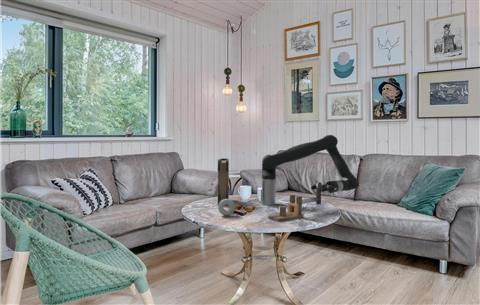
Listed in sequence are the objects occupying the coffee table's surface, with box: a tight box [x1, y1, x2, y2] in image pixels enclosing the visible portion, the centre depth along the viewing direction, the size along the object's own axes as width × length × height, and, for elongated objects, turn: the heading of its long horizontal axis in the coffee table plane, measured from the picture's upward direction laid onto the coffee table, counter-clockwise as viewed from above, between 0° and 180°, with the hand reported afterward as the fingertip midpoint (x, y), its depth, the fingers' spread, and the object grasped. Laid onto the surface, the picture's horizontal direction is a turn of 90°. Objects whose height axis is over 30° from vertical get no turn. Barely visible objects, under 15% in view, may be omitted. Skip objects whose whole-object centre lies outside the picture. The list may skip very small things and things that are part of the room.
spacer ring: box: [287, 202, 299, 215], centre depth 208 cm, size 7×2×6 cm, turn 36°
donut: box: [217, 198, 236, 217], centre depth 209 cm, size 10×4×10 cm, turn 99°
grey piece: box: [302, 182, 322, 205], centre depth 216 cm, size 3×18×13 cm, turn 126°
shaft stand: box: [267, 194, 305, 223], centre depth 205 cm, size 9×19×12 cm, turn 126°
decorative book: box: [217, 158, 230, 207], centre depth 247 cm, size 23×7×30 cm, turn 0°
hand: (316, 188), depth 219 cm, fingers open, 8 cm apart
